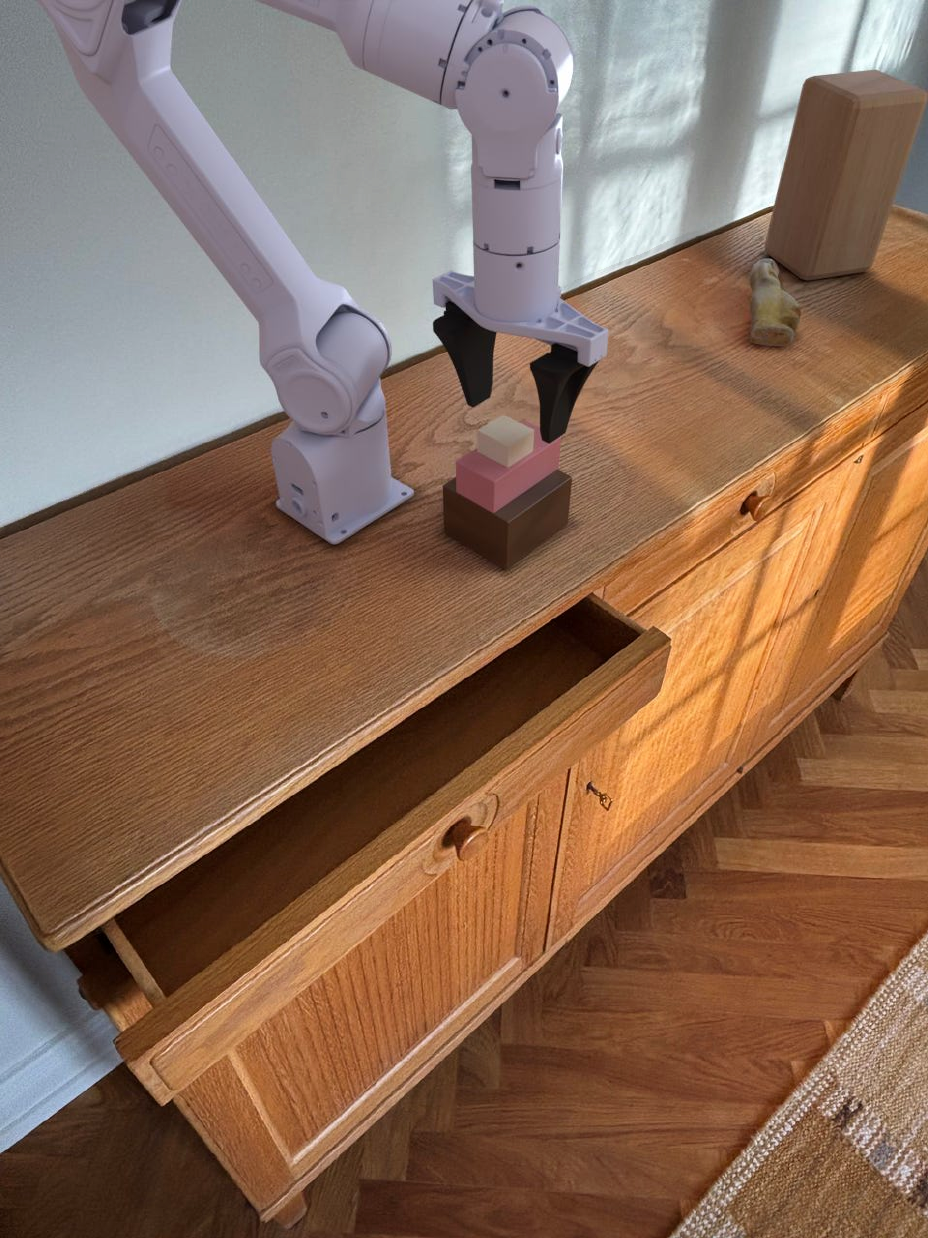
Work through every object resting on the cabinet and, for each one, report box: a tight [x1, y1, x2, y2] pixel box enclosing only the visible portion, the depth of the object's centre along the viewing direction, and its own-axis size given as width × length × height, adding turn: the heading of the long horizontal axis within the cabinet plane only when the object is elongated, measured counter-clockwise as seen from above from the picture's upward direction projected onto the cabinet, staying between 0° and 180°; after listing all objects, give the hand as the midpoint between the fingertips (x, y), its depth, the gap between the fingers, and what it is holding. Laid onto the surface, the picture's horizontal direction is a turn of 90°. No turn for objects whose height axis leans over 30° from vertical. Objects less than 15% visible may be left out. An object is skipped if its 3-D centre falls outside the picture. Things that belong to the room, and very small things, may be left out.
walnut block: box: [442, 468, 573, 571], centre depth 72 cm, size 8×7×5 cm
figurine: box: [748, 257, 802, 347], centre depth 98 cm, size 5×5×15 cm
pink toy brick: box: [455, 414, 562, 513], centre depth 68 cm, size 8×4×5 cm, turn 137°
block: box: [764, 69, 928, 281], centre depth 102 cm, size 10×10×20 cm
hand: (515, 418), depth 66 cm, fingers open, 7 cm apart
